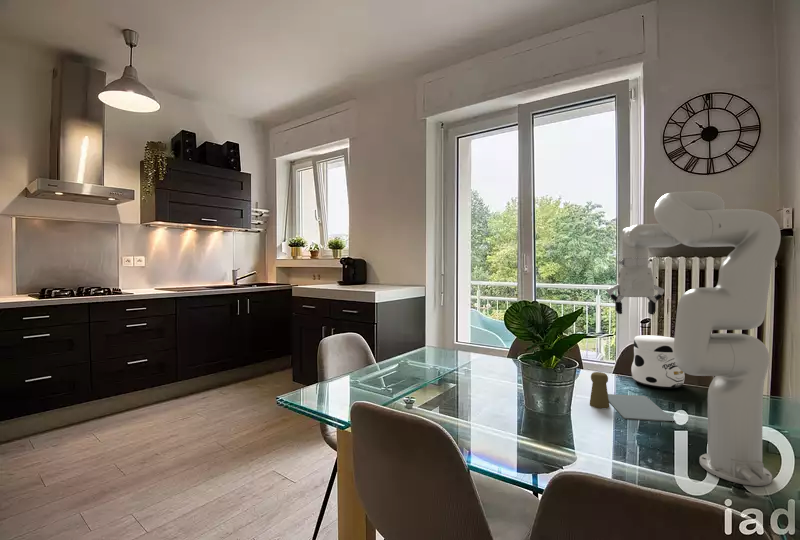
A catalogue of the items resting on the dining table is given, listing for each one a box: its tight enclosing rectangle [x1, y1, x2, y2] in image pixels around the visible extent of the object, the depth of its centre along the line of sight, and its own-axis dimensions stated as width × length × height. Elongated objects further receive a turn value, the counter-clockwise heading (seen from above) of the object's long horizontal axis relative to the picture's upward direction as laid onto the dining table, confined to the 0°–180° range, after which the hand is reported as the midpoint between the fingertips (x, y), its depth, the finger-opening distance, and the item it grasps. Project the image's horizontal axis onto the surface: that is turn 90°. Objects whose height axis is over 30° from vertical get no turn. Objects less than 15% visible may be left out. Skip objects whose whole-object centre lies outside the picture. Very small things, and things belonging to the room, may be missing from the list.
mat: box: [608, 393, 676, 423], centre depth 129 cm, size 22×14×1 cm, turn 168°
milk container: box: [630, 334, 686, 389], centre depth 152 cm, size 17×17×18 cm
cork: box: [589, 371, 611, 409], centre depth 131 cm, size 6×6×11 cm
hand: (635, 313), depth 132 cm, fingers open, 9 cm apart
